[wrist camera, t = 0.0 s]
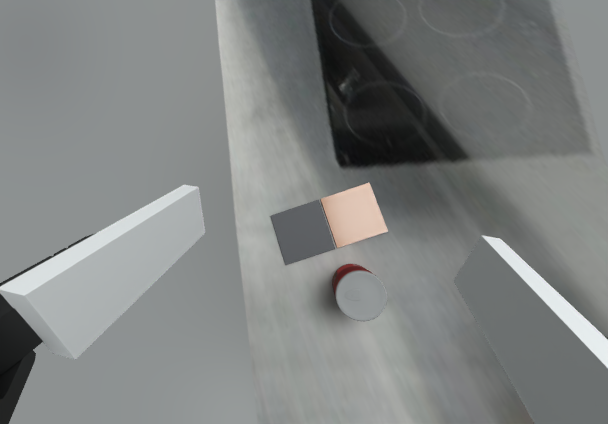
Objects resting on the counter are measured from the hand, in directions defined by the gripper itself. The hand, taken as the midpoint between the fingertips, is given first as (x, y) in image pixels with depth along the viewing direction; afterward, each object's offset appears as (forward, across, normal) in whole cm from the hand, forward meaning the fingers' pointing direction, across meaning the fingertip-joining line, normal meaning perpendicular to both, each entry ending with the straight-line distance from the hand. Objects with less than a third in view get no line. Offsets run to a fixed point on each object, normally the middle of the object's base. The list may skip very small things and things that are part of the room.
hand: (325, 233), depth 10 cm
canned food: (+25, -7, +28) cm, 38 cm away
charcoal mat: (+29, +4, +21) cm, 36 cm away
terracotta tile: (+33, -6, +16) cm, 37 cm away
